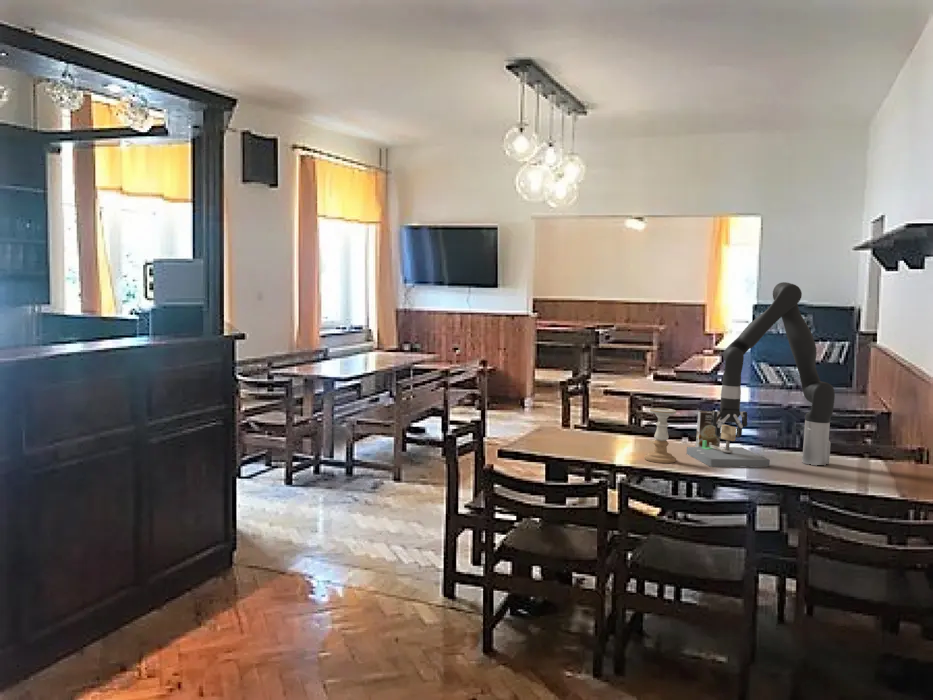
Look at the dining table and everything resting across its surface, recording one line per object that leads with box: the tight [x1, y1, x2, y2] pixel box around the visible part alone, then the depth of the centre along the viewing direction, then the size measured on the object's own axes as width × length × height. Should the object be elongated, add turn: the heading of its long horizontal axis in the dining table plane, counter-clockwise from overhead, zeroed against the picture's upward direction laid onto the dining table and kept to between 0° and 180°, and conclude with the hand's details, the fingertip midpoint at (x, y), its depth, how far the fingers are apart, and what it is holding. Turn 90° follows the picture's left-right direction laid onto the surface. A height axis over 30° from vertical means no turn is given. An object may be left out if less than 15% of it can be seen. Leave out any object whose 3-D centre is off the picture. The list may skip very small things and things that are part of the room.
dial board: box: [686, 440, 771, 468], centre depth 347 cm, size 24×24×6 cm
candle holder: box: [644, 407, 677, 464], centre depth 342 cm, size 12×12×20 cm
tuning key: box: [709, 424, 737, 453], centre depth 349 cm, size 13×4×11 cm, turn 27°
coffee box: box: [695, 410, 722, 447], centre depth 369 cm, size 9×6×16 cm
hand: (728, 436), depth 346 cm, fingers open, 8 cm apart
